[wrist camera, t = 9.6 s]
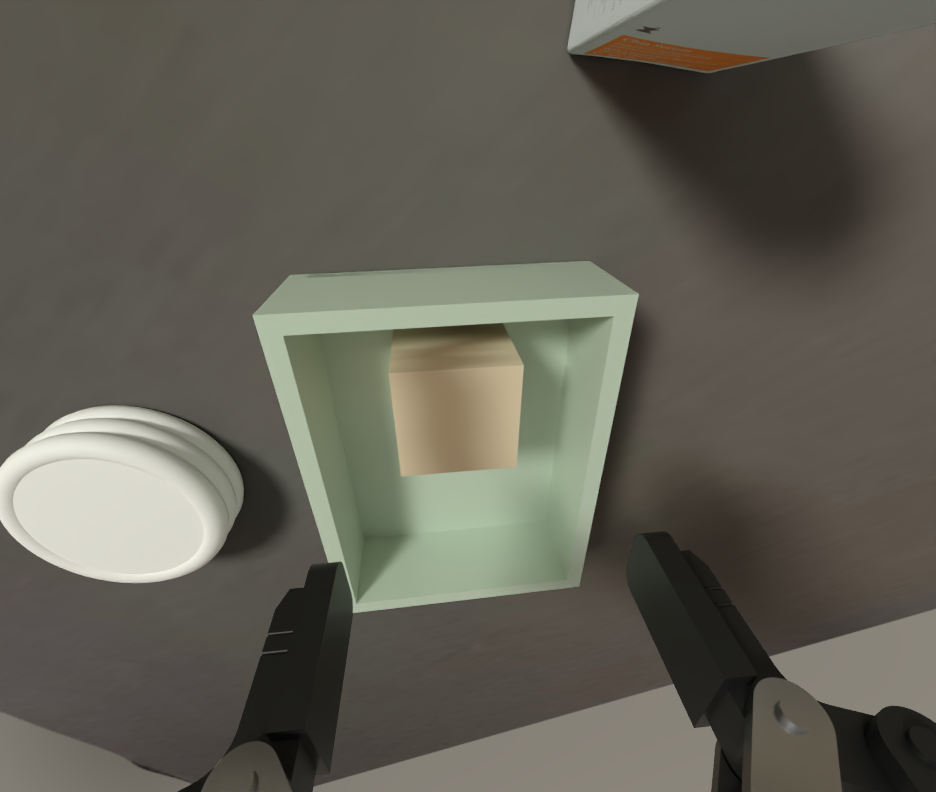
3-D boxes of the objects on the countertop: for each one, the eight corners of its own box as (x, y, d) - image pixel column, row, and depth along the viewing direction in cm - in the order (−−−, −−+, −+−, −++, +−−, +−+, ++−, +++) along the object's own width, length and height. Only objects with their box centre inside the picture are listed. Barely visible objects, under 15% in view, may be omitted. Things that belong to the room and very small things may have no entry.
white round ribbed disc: (135, 365, 20) (85, 405, 17) (284, 490, 25) (266, 537, 22) (-2, 459, 22) (-69, 510, 19) (162, 557, 26) (130, 610, 24)
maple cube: (500, 317, 20) (523, 365, 15) (496, 405, 22) (516, 467, 18) (394, 322, 19) (388, 373, 15) (403, 411, 22) (401, 476, 18)
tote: (589, 260, 19) (638, 294, 15) (554, 520, 29) (578, 586, 24) (290, 274, 18) (252, 315, 14) (355, 541, 27) (344, 614, 23)
